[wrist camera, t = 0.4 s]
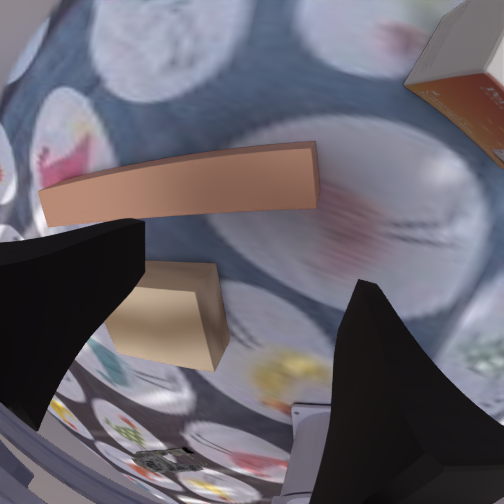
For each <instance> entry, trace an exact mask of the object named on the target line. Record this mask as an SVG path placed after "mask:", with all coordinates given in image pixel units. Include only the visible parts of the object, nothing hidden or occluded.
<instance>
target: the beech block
mask: <svg viewBox="0 0 504 504" xmlns="http://www.w3.org/2000/svg"><path fill="white" fill-rule="evenodd" d="M104 323H105V325H106V327H107V330H108V332H109V335H110V337H111V339H112V341H113V344H114V346H115V348H116V350H117V353H121V354H125V355H129V356H133V357H138V358H142V359H147V360H151V361H156V362H161V363H165V364H170V365H175V366H181V367H186V368H192V369H197V370H203V371H209V372H215V370H216V368H217V366H218V364H219V362H220V360H221V358H222V356H223V354H224V352H225V349H226V347H227V345H228V343H229V341H230V337H229V332H228V327H227V321H226V316H225V311H224V305H223V300H222V294H221V288H220V283H219V277H218V271H217V266H216V263H194V262H169V261H145V273H144V275H143V276H142V278H141V279H140V281H139V282H138V284H137V285H136V287H135V288H134V289H133V291H132V292H131V293H130V294H129V295H128V297H127V298H126V299H125V300H124V301H123V302H122V303H121V304H120V305H119V306H118V307H117V308H116V309H115V311H114V312H113V313H112V314H111V315H110V316H109V317H108V318H107V319H106V320H105V321H104Z"/></svg>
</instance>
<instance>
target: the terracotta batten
mask: <svg viewBox="0 0 504 504" xmlns="http://www.w3.org/2000/svg"><path fill="white" fill-rule="evenodd" d="M38 194H39V198H40V202H41V205H42V209H43V212H44V215H45V219H46V222H47V225H48V227H55V226H64V225H74V224H84V223H94V222H104V221H112V220H117V219H124V218H134V219H138V218H151V217H164V216H177V215H192V214H208V213H225V212H243V211H264V210H288V209H316V208H317V203H318V199H319V195H320V185H319V173H318V162H317V151H316V141H310V142H295V143H282V144H271V145H260V146H250V147H241V148H233V149H225V150H217V151H209V152H202V153H195V154H189V155H182V156H176V157H170V158H164V159H158V160H153V161H147V162H142V163H137V164H132V165H127V166H122V167H117V168H112V169H108V170H103V171H99V172H94V173H90V174H86V175H82V176H78V177H74V178H70V179H66V180H62V181H60V182H58V183H55V184H53V185H51V186H49V187H46V188H44V189H42V190H40V191H38Z"/></svg>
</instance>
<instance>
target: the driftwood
mask: <svg viewBox="0 0 504 504" xmlns="http://www.w3.org/2000/svg"><path fill="white" fill-rule="evenodd" d="M178 450H180V451H181V452H180V451H178ZM168 453H169V454H173V455H177V456H181V455H182V454H184V455H188V456H189V454H194V453H189V452H187V451H185V450H183V449H182V448H180V449H174V450H164V451H149V452H148V451H144V452H136V454H135V455H136V456H135V458H136V459H133V458H132V460H133V461H134V462H135V463H136V464H137V465H139V466H140V467H143V468H145V469H147V470H149V471H151V472H161V473H164V472H173V473H177V472H185V471H199V470H204V469H202V467H201V466H197V465H188V464H184V463H174V462H172V461H169V460H167V459H166V458H164V457H162V456H165V455H167V454H168ZM194 456H195V455H194ZM190 457H191V456H190ZM191 458H192V457H191ZM192 459H194V458H192ZM195 461H196V460H195ZM201 464H202V465H204V466H208V465H207V463H206V464H203V463H201Z"/></svg>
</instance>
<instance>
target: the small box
mask: <svg viewBox="0 0 504 504" xmlns="http://www.w3.org/2000/svg"><path fill="white" fill-rule="evenodd" d="M404 86H405V87H406V88H407V89H409V90H410V91H412V92H413V93H415V94H416V95H418V96H419V97H421V98H422V99H423V100H425V101H426V102H428V103H429V104H430V105H432V106H433V107H434V108H436V109H437V110H438V111H439V112H441V113H442V114H443V115H444V116H446V117H447V118H448V119H449V120H450V121H452V122H453V123H454V124H455V125H456V126H457V127H458V128H460V129H461V130H462V131H463V132H464V133H465V134H466V135H467V136H468V137H469V138H470V139H472V140H473V141H474V142H475V143H476V144H477V145H478V146H479V147H480V148H481V149H482V150H483V151H484V152H485V153H486V154H487V155H488V156H489V157H490V158H491V159H492V160H493V161H494V162H495V163H496V164H497V165H498V166H499V167H501V168H502V169H504V0H466V1H465V2H463V3H462V4H460V5H459V6H457V7H456V8H455V9H453V10H452V11H450V12H449V13H447V14H446V15H445V16H444V17H443V18H442V20H441V22H440V24H439V26H438V27H437V29H436V31H435V32H434V34H433V36H432V38H431V39H430V41H429V43H428V44H427V46H426V48H425V49H424V51H423V53H422V54H421V56H420V58H419V59H418V61H417V63H416V64H415V66H414V68H413V69H412V71H411V73H410V74H409V76H408V78H407V79H406V81H405V83H404Z"/></svg>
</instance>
